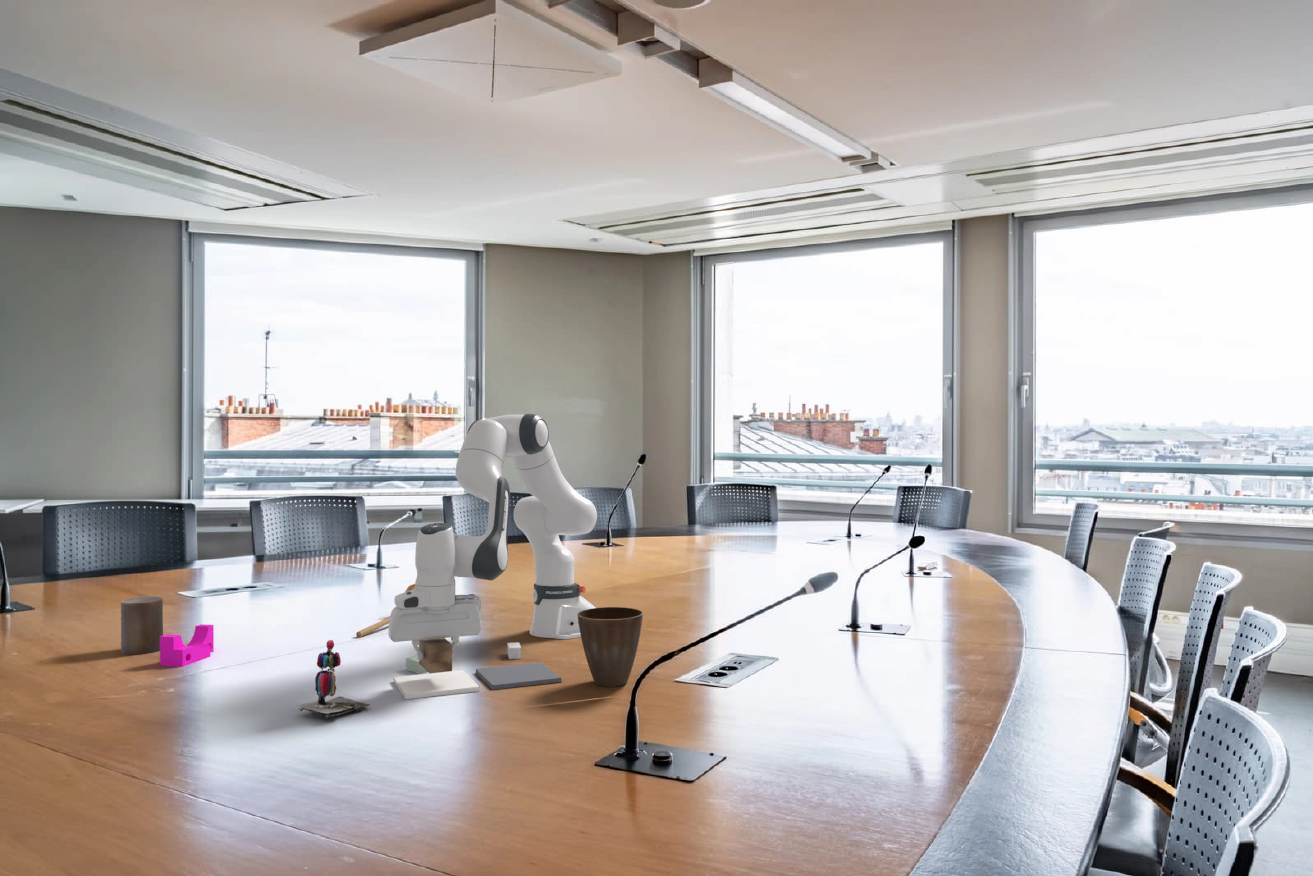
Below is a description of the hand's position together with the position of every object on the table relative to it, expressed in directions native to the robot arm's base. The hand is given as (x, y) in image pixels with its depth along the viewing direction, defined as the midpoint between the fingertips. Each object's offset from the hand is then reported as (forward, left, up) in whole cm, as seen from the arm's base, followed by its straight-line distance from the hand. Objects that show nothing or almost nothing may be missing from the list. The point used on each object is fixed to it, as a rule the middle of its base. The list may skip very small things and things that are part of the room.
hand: (435, 658), depth 215 cm
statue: (+23, +11, -7) cm, 26 cm away
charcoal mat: (-19, 0, -6) cm, 20 cm away
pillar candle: (+63, -64, -7) cm, 90 cm away
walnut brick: (0, 0, -2) cm, 2 cm away
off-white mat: (0, 0, -6) cm, 6 cm away
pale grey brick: (-24, -21, -7) cm, 33 cm away
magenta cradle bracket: (+51, -50, -7) cm, 71 cm away
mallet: (-4, -71, -8) cm, 72 cm away
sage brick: (+1, -16, -7) cm, 17 cm away
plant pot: (-37, +13, -7) cm, 40 cm away
